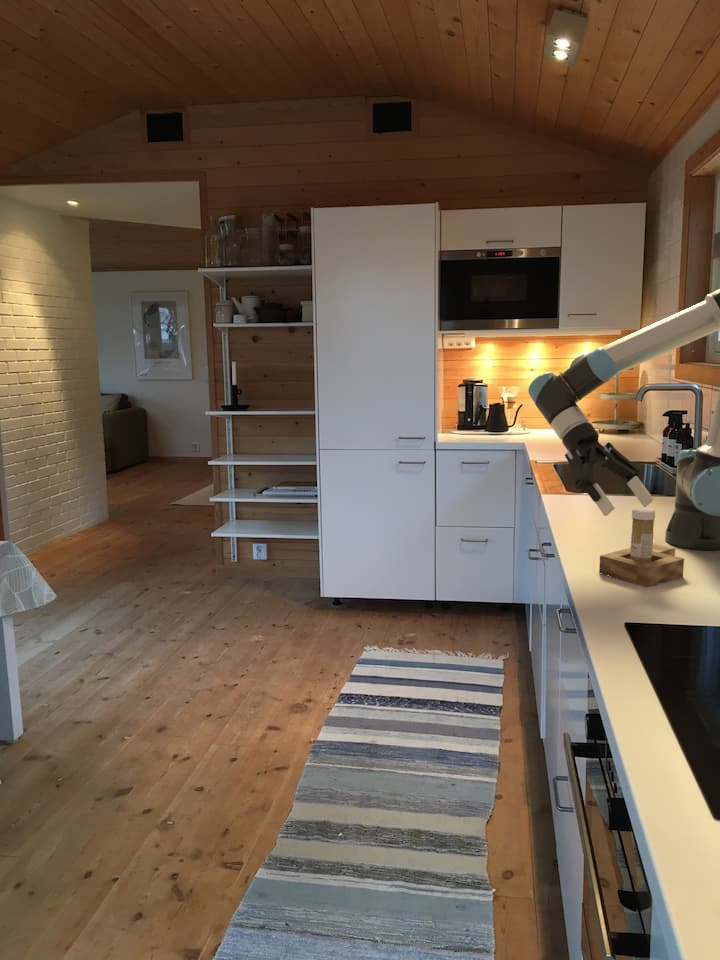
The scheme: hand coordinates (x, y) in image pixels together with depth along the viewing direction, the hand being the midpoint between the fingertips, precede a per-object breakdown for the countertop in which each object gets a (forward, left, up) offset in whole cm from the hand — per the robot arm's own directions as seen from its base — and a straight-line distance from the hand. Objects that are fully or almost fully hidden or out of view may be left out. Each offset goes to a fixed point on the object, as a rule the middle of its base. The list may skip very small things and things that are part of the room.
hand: (630, 507), depth 163 cm
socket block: (0, +3, -14) cm, 15 cm away
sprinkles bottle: (0, +3, -13) cm, 14 cm away
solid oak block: (-9, 0, -14) cm, 17 cm away
